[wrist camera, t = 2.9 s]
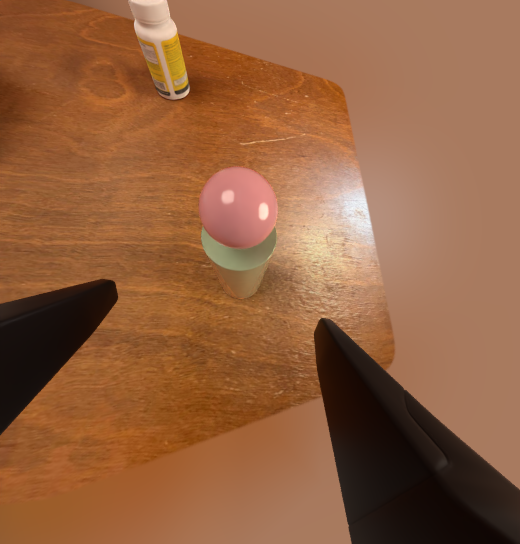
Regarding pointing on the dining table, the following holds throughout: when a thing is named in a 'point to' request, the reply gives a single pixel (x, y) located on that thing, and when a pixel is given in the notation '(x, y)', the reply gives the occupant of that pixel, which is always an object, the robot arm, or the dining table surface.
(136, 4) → the supplement bottle
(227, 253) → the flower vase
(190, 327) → the dining table surface
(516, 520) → the robot arm
